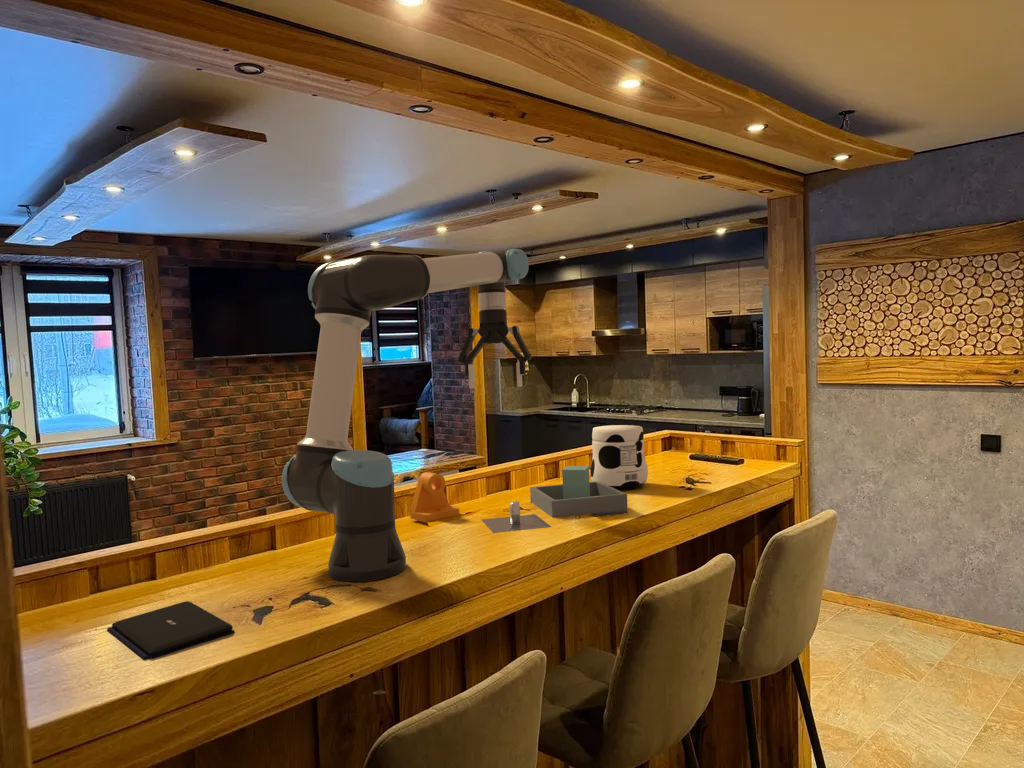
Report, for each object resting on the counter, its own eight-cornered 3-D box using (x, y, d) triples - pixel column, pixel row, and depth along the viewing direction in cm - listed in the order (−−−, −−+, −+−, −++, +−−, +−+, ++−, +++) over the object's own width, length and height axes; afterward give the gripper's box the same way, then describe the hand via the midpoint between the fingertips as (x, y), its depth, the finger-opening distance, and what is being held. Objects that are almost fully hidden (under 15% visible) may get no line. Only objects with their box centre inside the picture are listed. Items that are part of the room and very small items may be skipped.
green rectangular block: (586, 508, 185) (584, 470, 184) (563, 507, 186) (562, 469, 186) (590, 503, 190) (588, 466, 190) (568, 502, 192) (566, 466, 192)
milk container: (607, 479, 229) (605, 424, 228) (657, 483, 219) (655, 425, 218) (580, 489, 215) (578, 430, 214) (632, 494, 205) (630, 431, 204)
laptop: (123, 670, 101) (122, 656, 101) (105, 629, 117) (104, 617, 117) (238, 640, 110) (238, 627, 110) (207, 605, 126) (206, 594, 126)
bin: (552, 521, 176) (551, 501, 176) (530, 505, 196) (530, 487, 195) (627, 513, 181) (627, 494, 181) (599, 498, 200) (598, 481, 200)
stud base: (493, 537, 163) (492, 511, 163) (481, 523, 177) (480, 499, 177) (551, 531, 167) (550, 505, 166) (535, 518, 180) (534, 494, 180)
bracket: (426, 526, 177) (424, 478, 176) (410, 521, 183) (408, 474, 182) (461, 518, 184) (459, 472, 183) (445, 514, 189) (443, 469, 189)
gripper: (540, 307, 193) (543, 385, 194) (454, 312, 200) (457, 387, 201) (533, 305, 186) (536, 387, 187) (444, 311, 193) (448, 389, 194)
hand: (495, 387), depth 194 cm, fingers open, 13 cm apart
